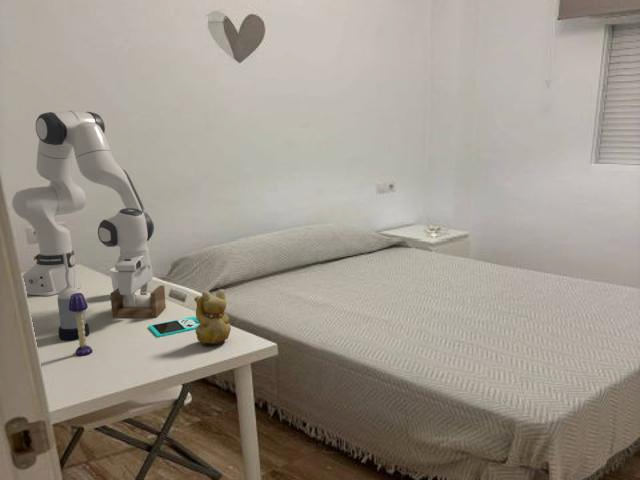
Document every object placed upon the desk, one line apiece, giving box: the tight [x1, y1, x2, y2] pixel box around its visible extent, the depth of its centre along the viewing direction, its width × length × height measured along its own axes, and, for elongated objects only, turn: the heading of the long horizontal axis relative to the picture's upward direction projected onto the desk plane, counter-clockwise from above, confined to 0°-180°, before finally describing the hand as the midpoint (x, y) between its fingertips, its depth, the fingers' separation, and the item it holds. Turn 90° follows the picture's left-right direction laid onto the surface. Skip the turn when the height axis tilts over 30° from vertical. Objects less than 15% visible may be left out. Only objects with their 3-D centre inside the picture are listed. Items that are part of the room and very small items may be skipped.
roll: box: [123, 294, 152, 308], centre depth 180 cm, size 10×5×5 cm, turn 87°
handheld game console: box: [148, 316, 200, 338], centre depth 168 cm, size 10×16×1 cm, turn 122°
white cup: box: [109, 267, 118, 291], centre depth 199 cm, size 8×8×10 cm
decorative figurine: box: [194, 288, 232, 348], centre depth 153 cm, size 10×8×15 cm
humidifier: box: [57, 252, 90, 342], centre depth 159 cm, size 8×8×25 cm
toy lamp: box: [69, 292, 93, 357], centre depth 147 cm, size 5×5×17 cm
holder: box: [109, 285, 167, 319], centre depth 180 cm, size 14×9×8 cm, turn 87°
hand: (138, 300), depth 180 cm, fingers open, 8 cm apart
